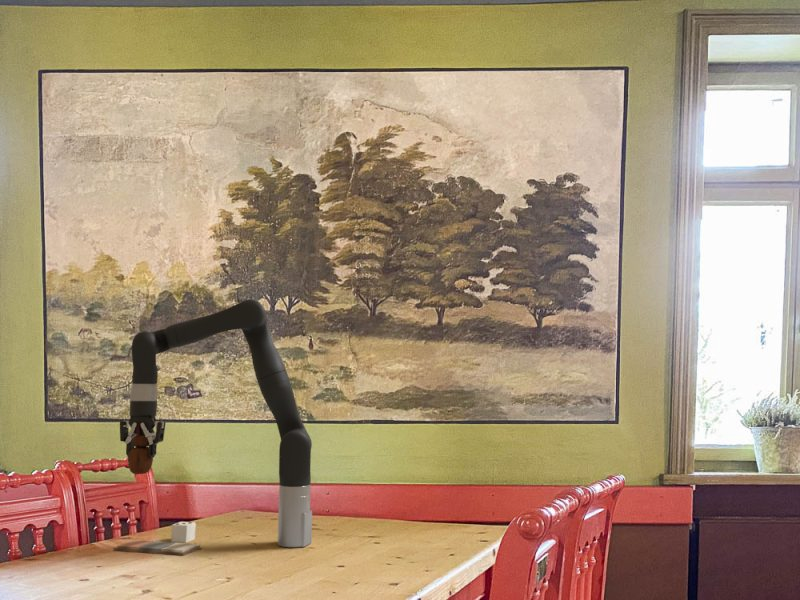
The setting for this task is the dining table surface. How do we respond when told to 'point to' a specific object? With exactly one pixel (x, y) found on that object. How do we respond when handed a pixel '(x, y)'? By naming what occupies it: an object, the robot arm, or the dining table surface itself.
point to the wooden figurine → (139, 454)
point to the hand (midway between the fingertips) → (140, 456)
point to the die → (183, 532)
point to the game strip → (157, 547)
